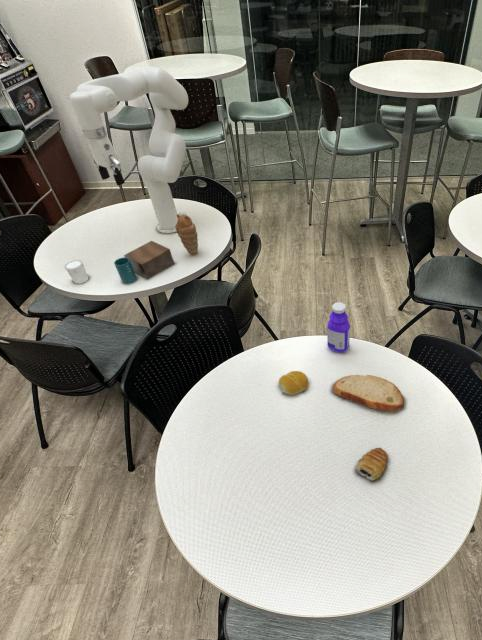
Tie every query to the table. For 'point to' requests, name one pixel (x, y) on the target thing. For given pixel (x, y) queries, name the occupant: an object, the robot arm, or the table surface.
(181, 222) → the brown ridged oblong lump
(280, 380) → the bread roll
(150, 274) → the stand
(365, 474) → the pastry
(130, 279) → the drinking cup
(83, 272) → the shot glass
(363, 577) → the table surface
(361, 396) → the bread slice
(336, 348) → the bottle
